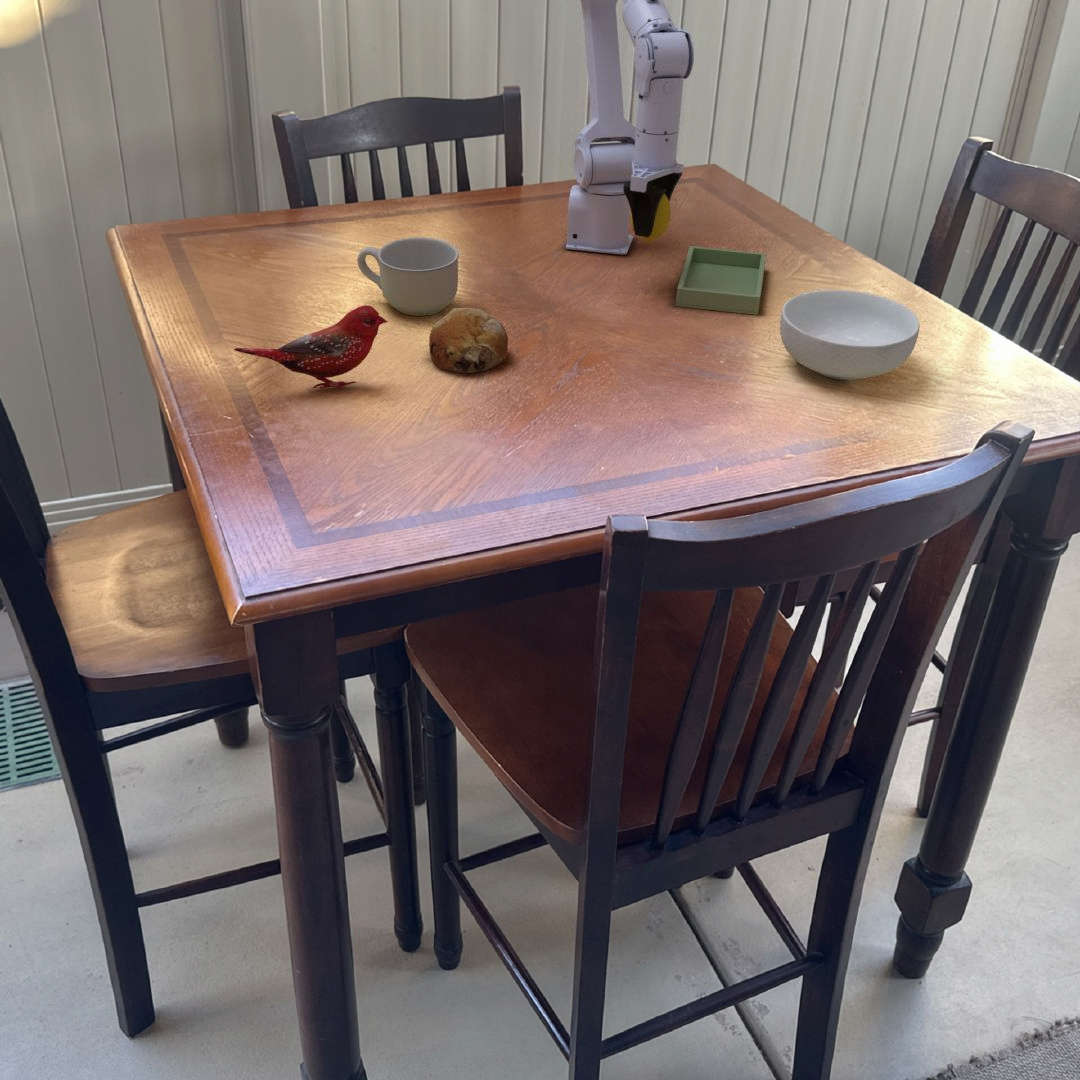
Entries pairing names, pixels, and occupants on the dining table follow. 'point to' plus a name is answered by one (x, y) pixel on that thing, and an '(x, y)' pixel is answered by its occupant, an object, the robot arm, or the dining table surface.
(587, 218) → the robot arm
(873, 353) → the cereal bowl
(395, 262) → the teacup
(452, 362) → the bread roll
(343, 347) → the decorative bird figurine
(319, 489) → the dining table surface
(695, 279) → the tray
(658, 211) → the lemon
